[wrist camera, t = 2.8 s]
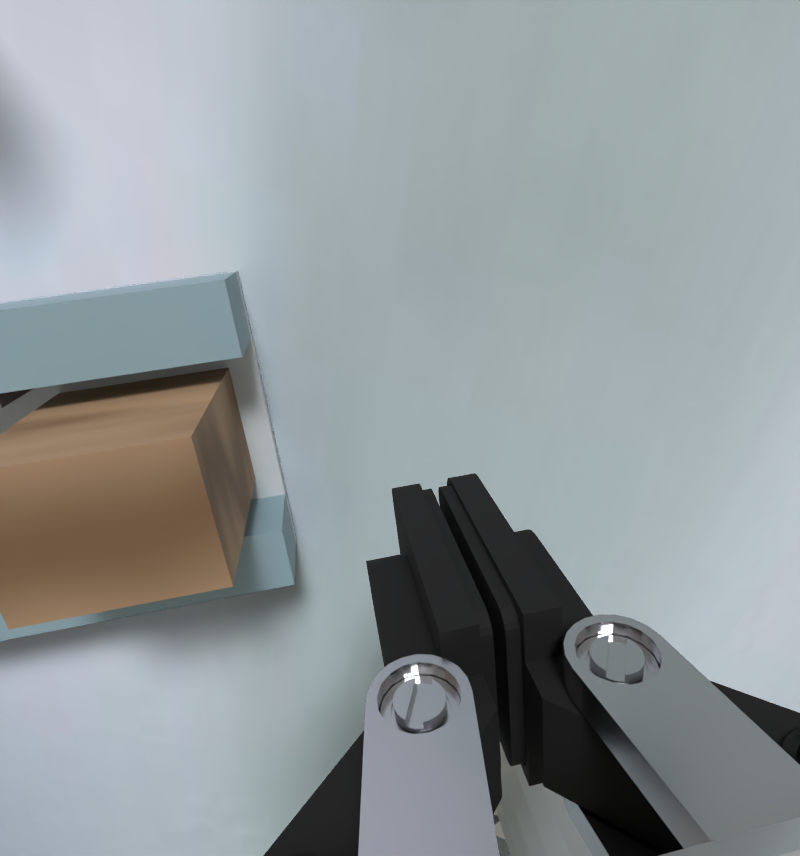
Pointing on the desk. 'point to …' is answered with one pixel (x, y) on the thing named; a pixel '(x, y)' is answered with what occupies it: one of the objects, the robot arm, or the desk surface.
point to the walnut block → (122, 497)
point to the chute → (143, 360)
